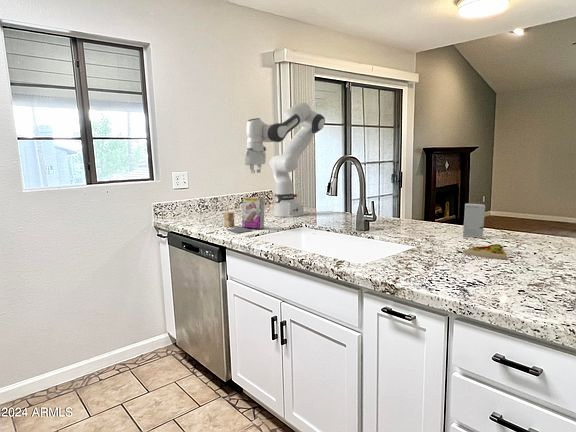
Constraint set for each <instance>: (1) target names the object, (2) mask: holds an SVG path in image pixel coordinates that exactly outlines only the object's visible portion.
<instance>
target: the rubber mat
mask: <svg viewBox="0 0 576 432" xmlns="http://www.w3.org/2000/svg"><path fill="white" fill-rule="evenodd" d="M225 230H226V231H227V230H228V232H230V231H231V233H234V234H242V233H249V232H254V230H253V229H251V228H243V227H242V226H241V227H236V228H235V227H232V228H228V229H225Z"/></svg>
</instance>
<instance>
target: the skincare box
mask: <svg viewBox="0 0 576 432" xmlns="http://www.w3.org/2000/svg"><path fill="white" fill-rule="evenodd" d="M485 213H486V205H485V204H482V203H464V216H463V218H464V219H463V229H462V237H463V238H470V237H477V238H476V239H483V236H484V224H485Z"/></svg>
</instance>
